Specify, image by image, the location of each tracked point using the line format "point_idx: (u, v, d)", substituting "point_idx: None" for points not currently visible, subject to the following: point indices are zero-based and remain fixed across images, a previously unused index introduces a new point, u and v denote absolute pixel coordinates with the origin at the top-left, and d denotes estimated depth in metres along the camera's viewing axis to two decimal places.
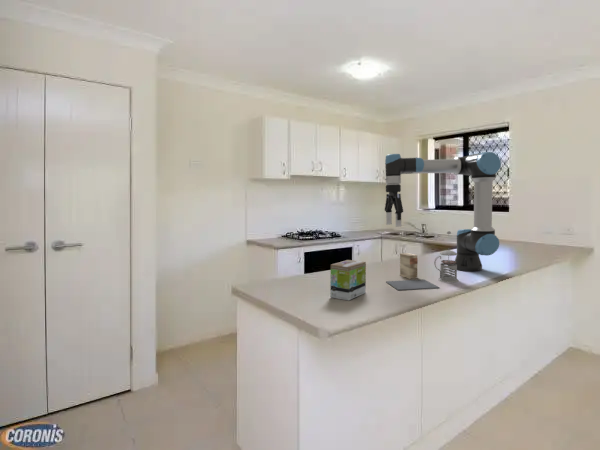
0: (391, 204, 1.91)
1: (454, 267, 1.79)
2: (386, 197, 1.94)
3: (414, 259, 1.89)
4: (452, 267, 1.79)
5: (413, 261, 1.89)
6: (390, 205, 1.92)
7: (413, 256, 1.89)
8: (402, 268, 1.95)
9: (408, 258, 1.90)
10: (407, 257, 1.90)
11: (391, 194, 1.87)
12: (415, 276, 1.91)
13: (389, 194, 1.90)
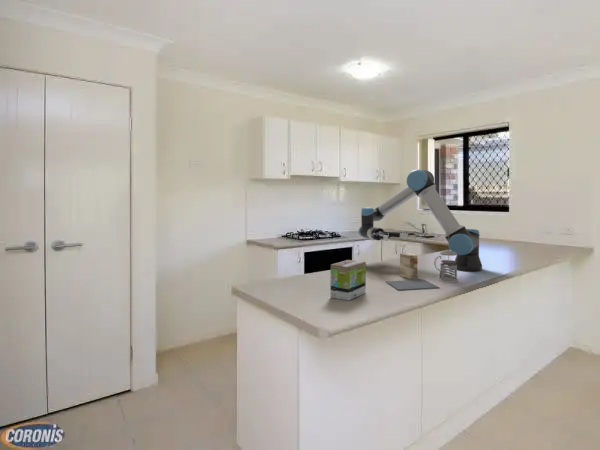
0: (391, 234, 2.13)
1: (454, 267, 1.79)
2: None
3: (414, 259, 1.89)
4: (452, 267, 1.79)
5: (413, 261, 1.89)
6: (392, 234, 2.12)
7: (413, 256, 1.89)
8: (402, 268, 1.95)
9: (408, 258, 1.90)
10: (407, 257, 1.90)
11: None
12: (415, 276, 1.91)
13: None
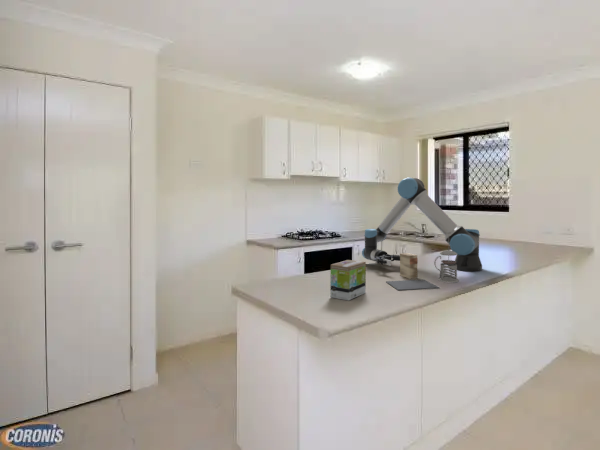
0: (395, 257, 2.10)
1: (454, 267, 1.79)
2: None
3: (414, 259, 1.89)
4: (452, 267, 1.79)
5: (413, 261, 1.89)
6: (396, 258, 2.10)
7: (413, 256, 1.89)
8: (402, 268, 1.95)
9: (408, 258, 1.90)
10: (407, 257, 1.90)
11: None
12: (415, 276, 1.91)
13: None
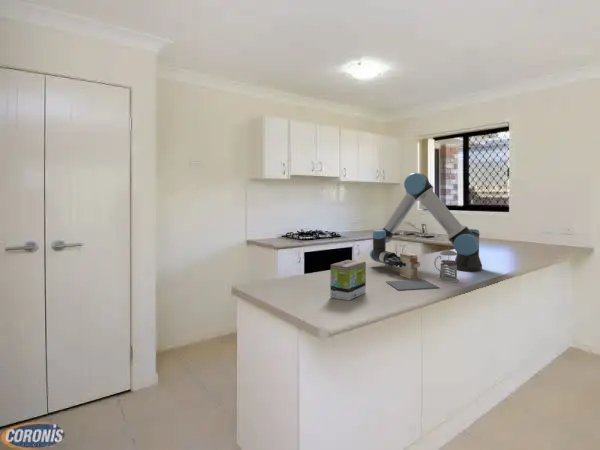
0: None
1: (454, 267, 1.79)
2: None
3: (414, 259, 1.89)
4: (452, 267, 1.79)
5: (413, 261, 1.89)
6: None
7: (413, 256, 1.89)
8: (402, 268, 1.95)
9: (408, 258, 1.90)
10: (407, 257, 1.90)
11: None
12: (415, 276, 1.91)
13: None
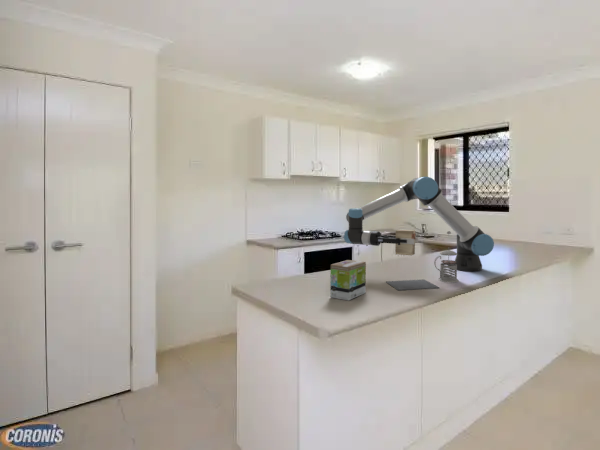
0: (393, 238, 1.86)
1: (454, 267, 1.79)
2: None
3: (414, 235, 1.78)
4: (452, 267, 1.79)
5: (413, 237, 1.78)
6: (395, 238, 1.86)
7: (413, 231, 1.78)
8: (399, 246, 1.80)
9: (409, 234, 1.77)
10: (407, 233, 1.77)
11: None
12: (413, 253, 1.80)
13: None
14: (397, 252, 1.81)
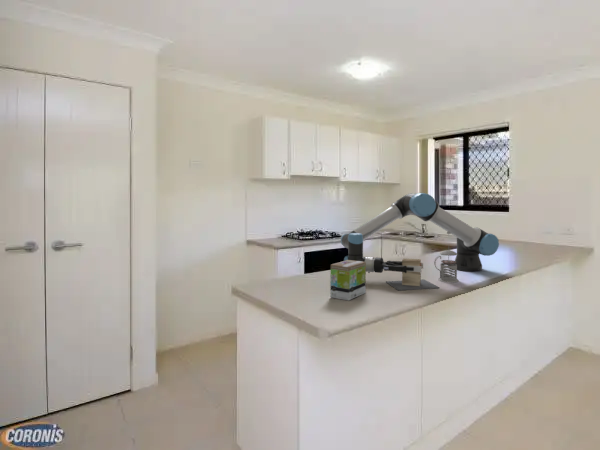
0: (397, 264, 1.80)
1: (454, 267, 1.79)
2: None
3: (420, 264, 1.73)
4: (452, 267, 1.79)
5: None
6: (399, 264, 1.80)
7: (420, 261, 1.73)
8: (406, 276, 1.74)
9: (417, 264, 1.71)
10: (415, 262, 1.72)
11: None
12: (420, 282, 1.75)
13: None
14: (404, 282, 1.74)
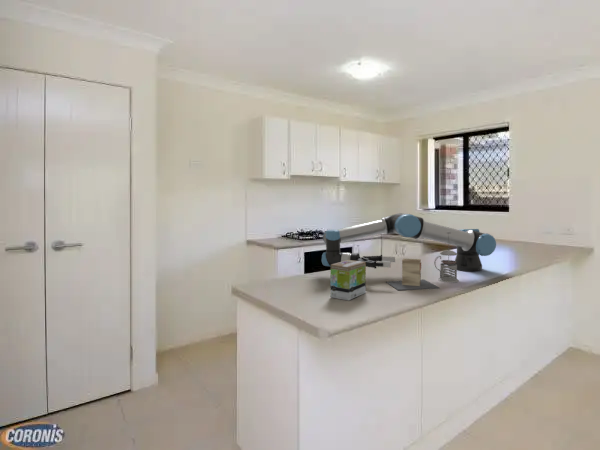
0: (372, 258, 1.88)
1: (454, 267, 1.79)
2: None
3: (420, 264, 1.73)
4: (452, 267, 1.79)
5: (420, 266, 1.73)
6: (374, 259, 1.88)
7: (420, 261, 1.73)
8: (406, 276, 1.74)
9: (417, 264, 1.71)
10: (415, 262, 1.72)
11: None
12: (420, 282, 1.75)
13: None
14: (404, 282, 1.74)
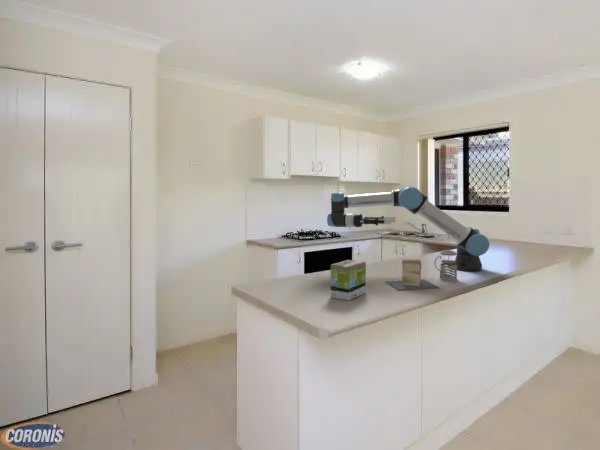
0: (374, 219, 2.02)
1: (454, 267, 1.79)
2: None
3: (420, 264, 1.73)
4: (452, 267, 1.79)
5: (420, 266, 1.73)
6: None
7: (420, 261, 1.73)
8: (406, 276, 1.74)
9: (417, 264, 1.71)
10: (415, 262, 1.72)
11: None
12: (420, 282, 1.75)
13: None
14: (404, 282, 1.74)
